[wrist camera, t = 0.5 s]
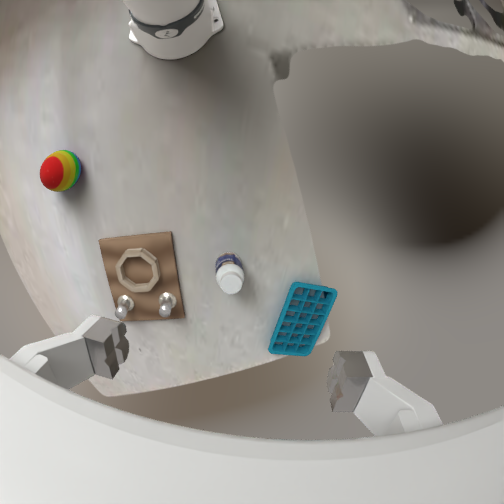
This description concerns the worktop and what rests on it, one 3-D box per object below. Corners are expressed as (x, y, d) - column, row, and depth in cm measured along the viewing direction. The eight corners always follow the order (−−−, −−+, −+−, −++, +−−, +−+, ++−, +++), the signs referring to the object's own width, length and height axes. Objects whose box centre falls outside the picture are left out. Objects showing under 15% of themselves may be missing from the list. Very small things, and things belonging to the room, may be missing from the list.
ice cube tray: (264, 345, 69) (267, 353, 66) (290, 276, 62) (293, 282, 60) (305, 349, 71) (309, 356, 69) (334, 284, 65) (339, 290, 62)
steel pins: (116, 295, 57) (109, 306, 52) (175, 291, 58) (172, 303, 54) (120, 310, 58) (114, 322, 54) (178, 307, 60) (175, 319, 55)
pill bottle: (231, 246, 58) (234, 265, 49) (245, 265, 60) (251, 287, 51) (210, 260, 58) (210, 282, 49) (225, 279, 60) (227, 302, 51)
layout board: (100, 238, 53) (95, 243, 50) (171, 231, 55) (168, 236, 52) (121, 318, 61) (117, 325, 58) (184, 315, 62) (183, 323, 59)
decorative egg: (92, 166, 48) (70, 171, 38) (71, 195, 49) (47, 206, 40) (69, 141, 45) (45, 142, 36) (49, 171, 46) (23, 178, 37)
